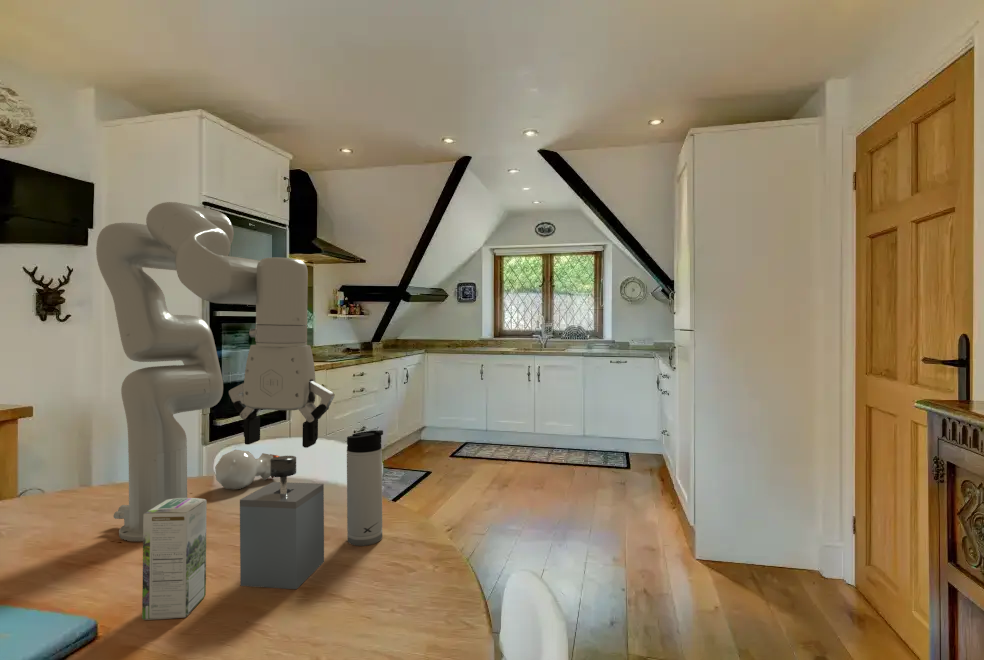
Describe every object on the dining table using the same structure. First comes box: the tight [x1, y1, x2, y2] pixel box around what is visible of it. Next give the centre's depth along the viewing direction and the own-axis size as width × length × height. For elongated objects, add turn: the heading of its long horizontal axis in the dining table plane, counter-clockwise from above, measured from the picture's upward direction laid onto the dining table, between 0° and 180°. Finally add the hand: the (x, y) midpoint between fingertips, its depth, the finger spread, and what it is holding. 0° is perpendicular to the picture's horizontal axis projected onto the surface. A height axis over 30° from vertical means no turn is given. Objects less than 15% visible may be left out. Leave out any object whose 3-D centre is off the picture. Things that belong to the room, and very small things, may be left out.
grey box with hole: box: [239, 481, 325, 590], centre depth 81 cm, size 9×9×13 cm
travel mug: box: [346, 429, 384, 547], centre depth 94 cm, size 6×7×20 cm
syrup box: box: [141, 497, 207, 621], centre depth 71 cm, size 6×6×14 cm
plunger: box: [270, 455, 297, 494], centre depth 81 cm, size 6×6×15 cm
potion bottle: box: [214, 449, 280, 490], centre depth 127 cm, size 9×10×15 cm
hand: (280, 444), depth 81 cm, fingers open, 9 cm apart
